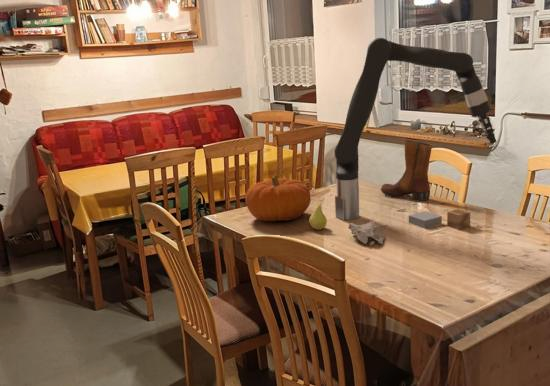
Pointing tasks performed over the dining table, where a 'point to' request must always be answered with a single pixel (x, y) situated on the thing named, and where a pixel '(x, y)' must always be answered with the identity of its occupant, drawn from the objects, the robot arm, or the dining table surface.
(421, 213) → the slate block
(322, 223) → the fruit
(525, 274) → the dining table surface
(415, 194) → the boot
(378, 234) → the stone
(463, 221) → the walnut cube
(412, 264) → the dining table surface
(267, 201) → the pumpkin
